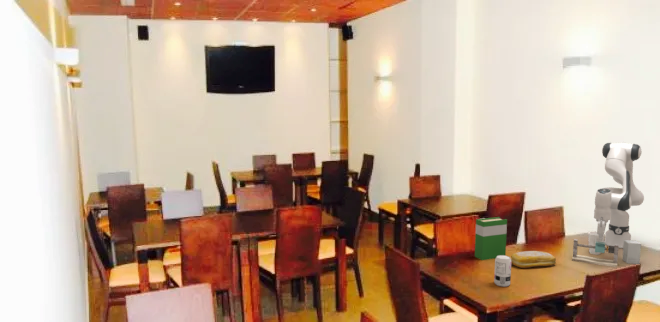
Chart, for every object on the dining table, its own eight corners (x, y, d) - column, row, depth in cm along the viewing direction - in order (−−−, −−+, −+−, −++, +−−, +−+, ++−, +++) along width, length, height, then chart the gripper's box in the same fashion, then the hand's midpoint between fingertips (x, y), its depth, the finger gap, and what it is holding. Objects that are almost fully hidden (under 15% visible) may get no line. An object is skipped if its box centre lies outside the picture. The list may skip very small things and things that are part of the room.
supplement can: (491, 281, 275) (492, 255, 273) (506, 281, 276) (507, 254, 274) (497, 287, 267) (499, 259, 265) (512, 286, 268) (514, 259, 266)
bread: (506, 263, 305) (507, 251, 304) (543, 259, 312) (544, 247, 311) (520, 271, 292) (521, 257, 291) (558, 266, 299) (559, 253, 298)
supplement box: (639, 264, 303) (641, 243, 302) (626, 263, 305) (627, 243, 303) (635, 260, 310) (636, 240, 309) (621, 259, 312) (623, 239, 310)
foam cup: (585, 253, 323) (586, 233, 322) (587, 250, 331) (588, 230, 329) (602, 256, 318) (603, 236, 316) (603, 252, 326) (605, 232, 324)
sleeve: (595, 249, 309) (596, 241, 308) (604, 251, 306) (605, 242, 306) (594, 251, 305) (595, 243, 304) (604, 253, 303) (604, 244, 302)
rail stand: (573, 256, 318) (574, 237, 317) (617, 262, 306) (618, 243, 304) (571, 260, 310) (573, 241, 308) (616, 267, 297) (618, 247, 296)
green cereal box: (497, 253, 324) (499, 217, 321) (505, 256, 317) (507, 219, 314) (474, 256, 318) (476, 219, 315) (482, 260, 311) (483, 222, 308)
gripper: (607, 220, 293) (605, 243, 295) (609, 212, 310) (607, 234, 312) (595, 219, 296) (593, 242, 298) (597, 211, 313) (596, 233, 315)
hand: (600, 238), depth 305 cm, fingers open, 8 cm apart
